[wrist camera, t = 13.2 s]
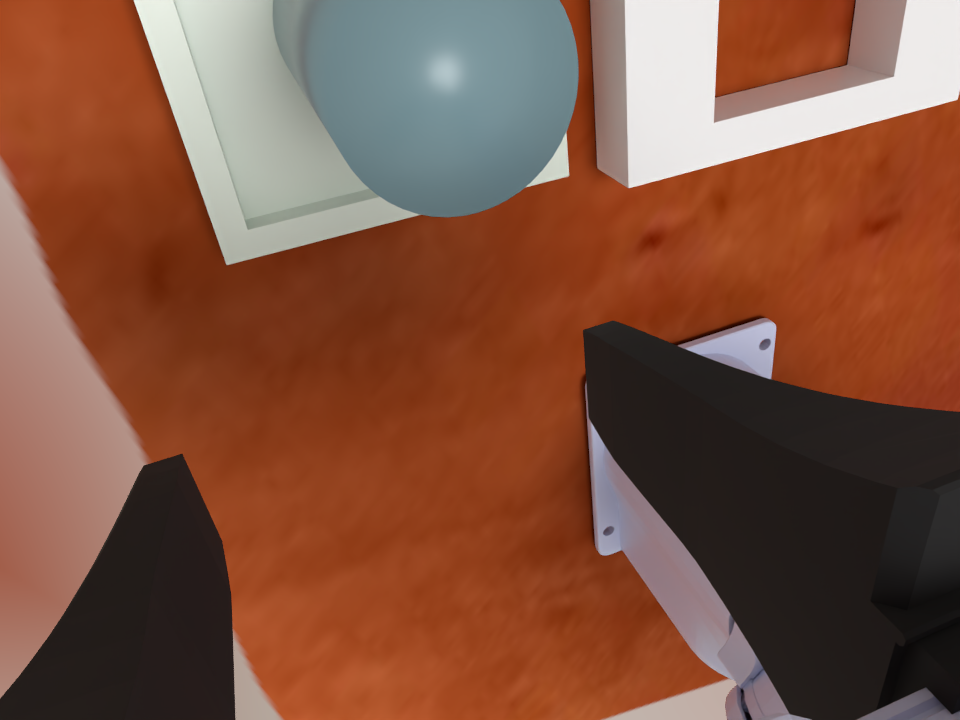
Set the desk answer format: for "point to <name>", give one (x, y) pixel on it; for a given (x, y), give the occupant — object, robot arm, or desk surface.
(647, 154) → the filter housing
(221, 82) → the tray
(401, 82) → the cylinder
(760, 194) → the desk surface
